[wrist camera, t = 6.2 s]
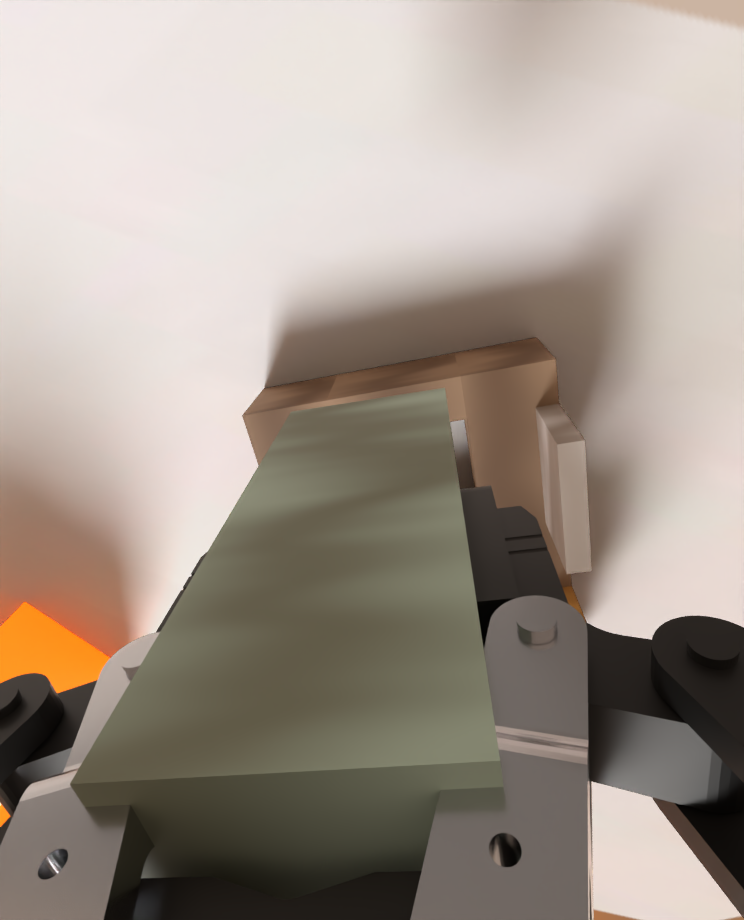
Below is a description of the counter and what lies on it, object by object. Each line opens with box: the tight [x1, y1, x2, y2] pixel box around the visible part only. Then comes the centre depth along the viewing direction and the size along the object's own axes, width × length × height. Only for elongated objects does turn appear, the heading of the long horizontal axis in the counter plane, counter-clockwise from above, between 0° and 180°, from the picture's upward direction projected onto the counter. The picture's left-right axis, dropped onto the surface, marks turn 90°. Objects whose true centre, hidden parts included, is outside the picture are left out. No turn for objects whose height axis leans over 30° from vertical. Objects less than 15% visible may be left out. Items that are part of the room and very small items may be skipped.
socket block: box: [242, 338, 592, 622], centre depth 28 cm, size 14×20×8 cm
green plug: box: [70, 388, 504, 899], centre depth 10 cm, size 4×4×10 cm
